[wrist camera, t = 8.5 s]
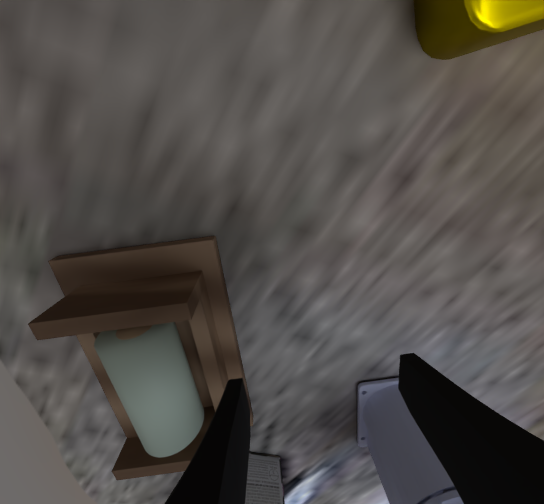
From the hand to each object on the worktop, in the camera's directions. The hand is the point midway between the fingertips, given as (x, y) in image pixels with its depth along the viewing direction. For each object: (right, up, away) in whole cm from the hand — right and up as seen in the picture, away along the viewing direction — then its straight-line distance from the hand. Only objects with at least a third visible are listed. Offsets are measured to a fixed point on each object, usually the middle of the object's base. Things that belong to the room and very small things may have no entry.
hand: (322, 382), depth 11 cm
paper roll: (-11, -4, +8) cm, 14 cm away
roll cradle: (-11, -3, +11) cm, 16 cm away
